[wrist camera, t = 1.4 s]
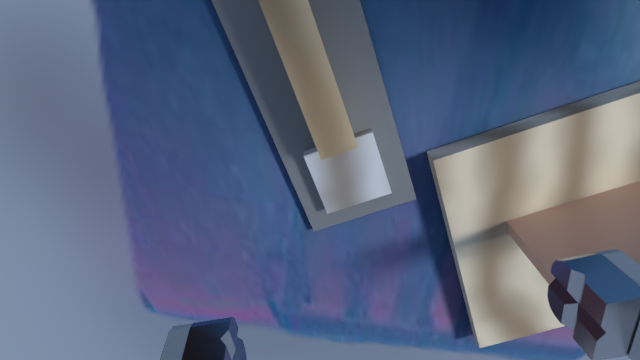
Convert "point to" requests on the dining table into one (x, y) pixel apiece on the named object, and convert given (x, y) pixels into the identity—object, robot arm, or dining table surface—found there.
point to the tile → (581, 228)
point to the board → (527, 199)
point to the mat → (354, 86)
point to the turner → (324, 111)
